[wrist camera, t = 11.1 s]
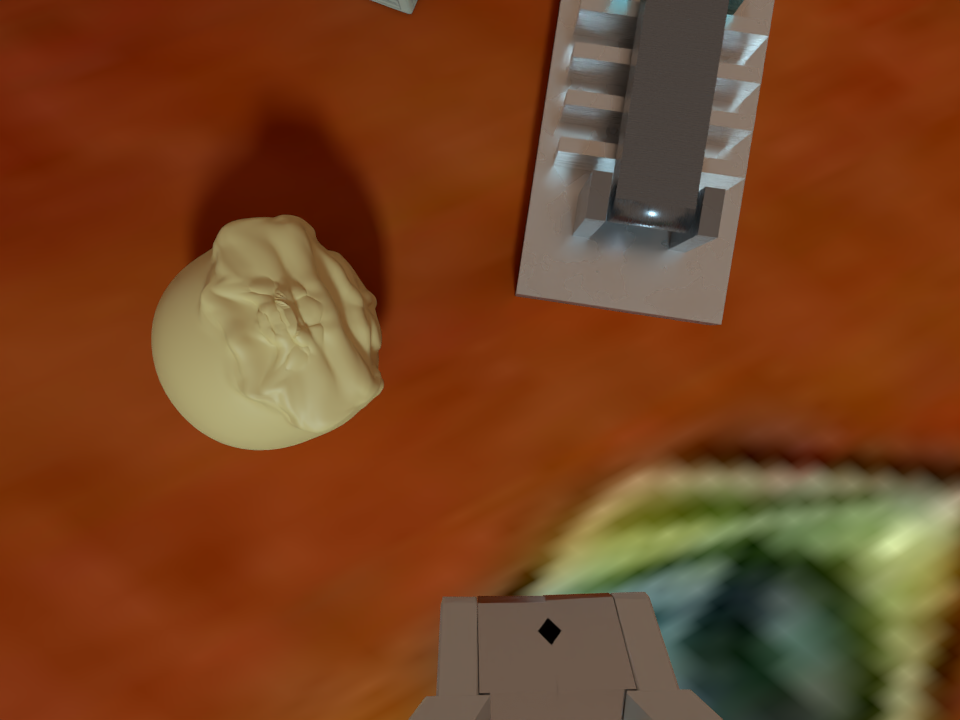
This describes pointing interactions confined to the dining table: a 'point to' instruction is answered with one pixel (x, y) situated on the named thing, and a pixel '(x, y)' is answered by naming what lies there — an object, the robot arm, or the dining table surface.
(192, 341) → the sculpture
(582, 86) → the grey dish rack
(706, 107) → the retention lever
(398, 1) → the skincare box
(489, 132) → the dining table surface
